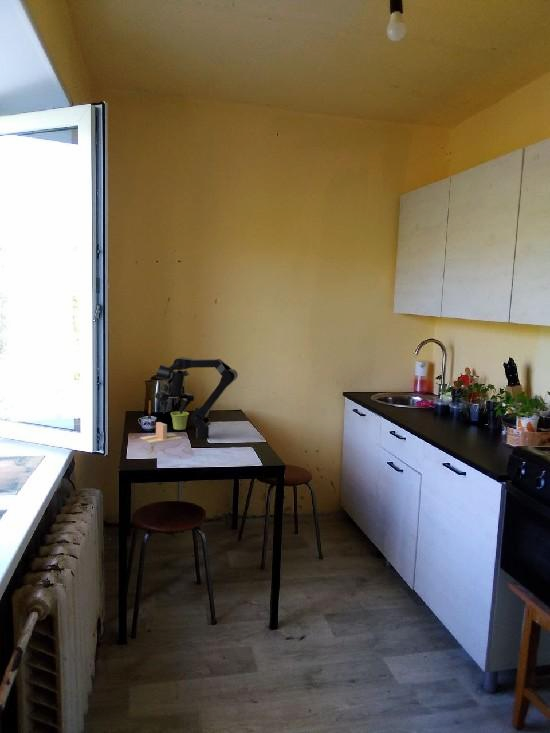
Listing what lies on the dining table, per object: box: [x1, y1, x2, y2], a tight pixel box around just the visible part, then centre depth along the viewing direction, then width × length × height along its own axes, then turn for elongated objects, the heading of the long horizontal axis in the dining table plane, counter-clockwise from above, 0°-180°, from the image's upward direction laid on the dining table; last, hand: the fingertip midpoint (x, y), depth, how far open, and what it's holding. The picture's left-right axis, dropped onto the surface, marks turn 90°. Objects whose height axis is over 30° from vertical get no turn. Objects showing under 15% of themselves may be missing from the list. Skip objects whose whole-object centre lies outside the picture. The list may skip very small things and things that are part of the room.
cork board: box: [139, 432, 183, 444], centre depth 263 cm, size 12×17×1 cm
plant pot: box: [170, 411, 190, 431], centre depth 283 cm, size 9×9×9 cm
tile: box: [155, 421, 168, 440], centre depth 263 cm, size 7×2×7 cm, turn 40°
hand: (172, 413), depth 268 cm, fingers open, 9 cm apart
